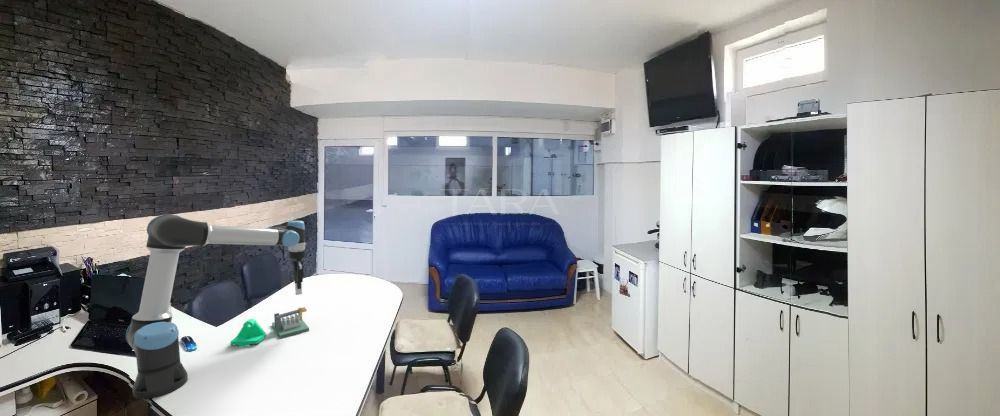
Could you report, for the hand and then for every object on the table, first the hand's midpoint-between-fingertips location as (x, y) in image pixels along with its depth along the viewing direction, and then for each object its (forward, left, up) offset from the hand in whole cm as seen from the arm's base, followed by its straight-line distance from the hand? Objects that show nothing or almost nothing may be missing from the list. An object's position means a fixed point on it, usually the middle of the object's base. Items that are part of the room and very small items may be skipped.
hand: (298, 294), depth 186 cm
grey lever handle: (0, +4, -10) cm, 11 cm away
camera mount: (-4, +23, -18) cm, 29 cm away
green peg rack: (0, +5, -17) cm, 18 cm away
